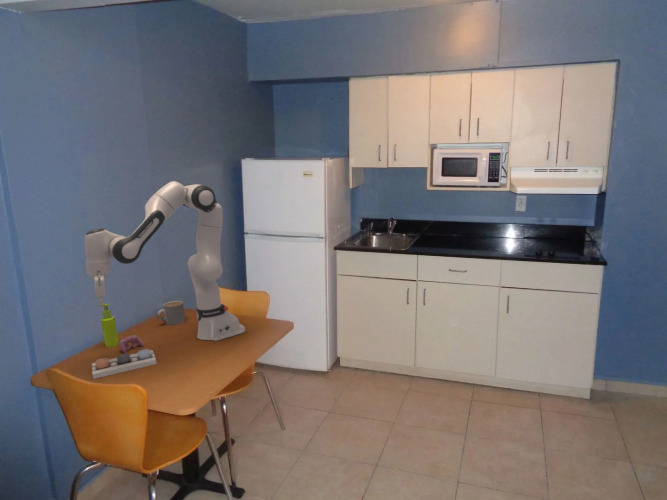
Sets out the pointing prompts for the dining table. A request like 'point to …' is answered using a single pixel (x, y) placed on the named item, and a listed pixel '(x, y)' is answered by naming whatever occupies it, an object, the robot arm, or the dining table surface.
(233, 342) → the dining table surface
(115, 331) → the soap dispenser
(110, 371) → the button board
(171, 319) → the coffee mug
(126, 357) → the charcoal button
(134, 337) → the video game controller
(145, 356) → the pale blue button
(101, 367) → the terracotta button
